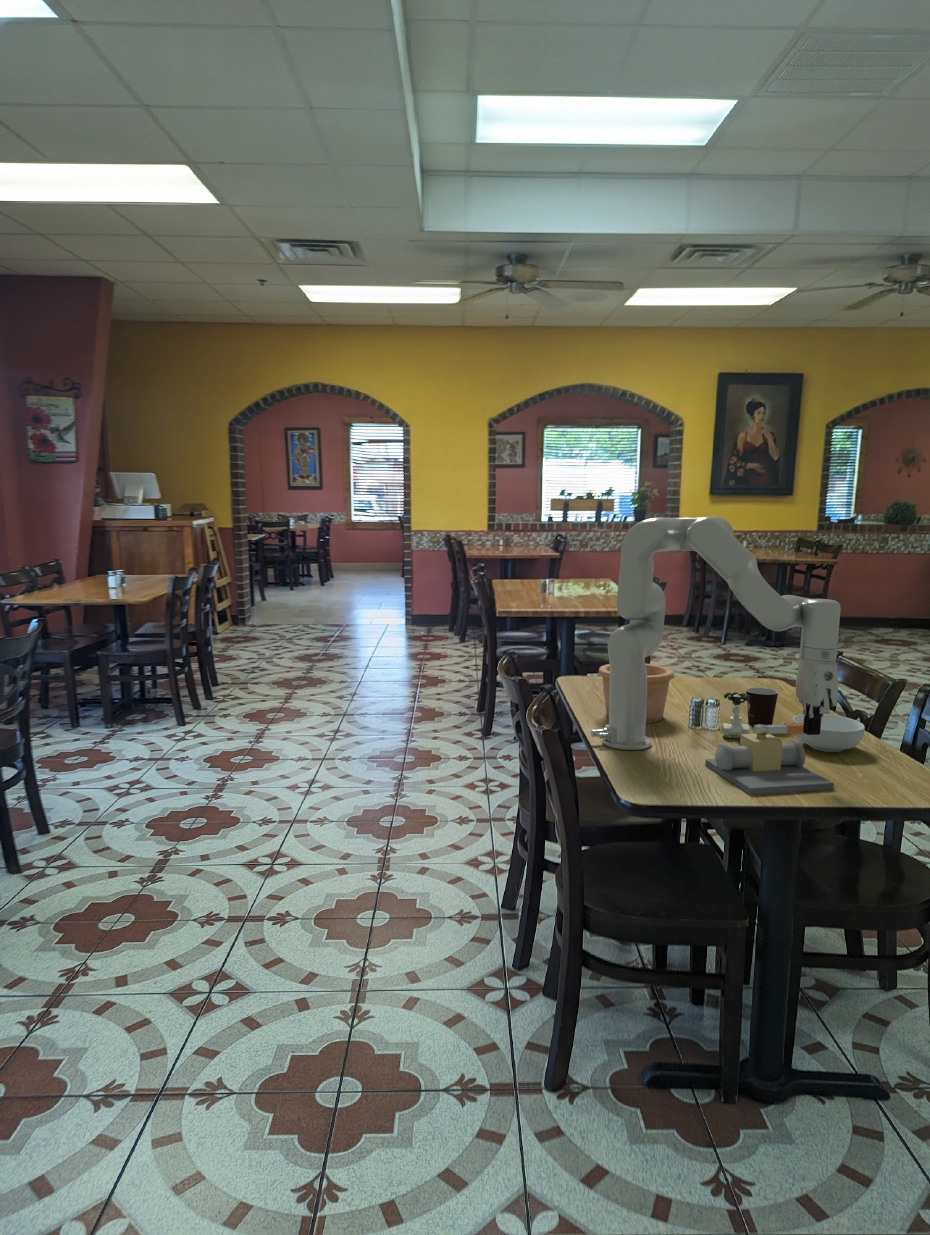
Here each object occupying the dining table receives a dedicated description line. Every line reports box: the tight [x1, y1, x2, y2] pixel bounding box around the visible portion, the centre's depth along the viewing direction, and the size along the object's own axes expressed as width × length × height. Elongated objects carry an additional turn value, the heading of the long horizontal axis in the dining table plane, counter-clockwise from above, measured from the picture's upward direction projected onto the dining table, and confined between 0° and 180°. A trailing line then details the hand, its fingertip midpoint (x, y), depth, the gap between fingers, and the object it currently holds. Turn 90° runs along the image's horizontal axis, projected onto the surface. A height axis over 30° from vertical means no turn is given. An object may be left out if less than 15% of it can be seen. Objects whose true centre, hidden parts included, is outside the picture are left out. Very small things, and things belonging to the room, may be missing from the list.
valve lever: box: [753, 722, 806, 735], centre depth 179 cm, size 14×3×2 cm, turn 95°
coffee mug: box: [745, 687, 779, 728], centre depth 221 cm, size 12×9×10 cm
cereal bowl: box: [791, 713, 866, 753], centre depth 199 cm, size 17×17×7 cm
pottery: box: [598, 663, 675, 724], centre depth 229 cm, size 22×22×14 cm
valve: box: [721, 691, 750, 739], centre depth 207 cm, size 7×7×12 cm
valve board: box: [704, 733, 835, 796], centre depth 176 cm, size 20×20×9 cm
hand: (811, 733), depth 174 cm, fingers closed
